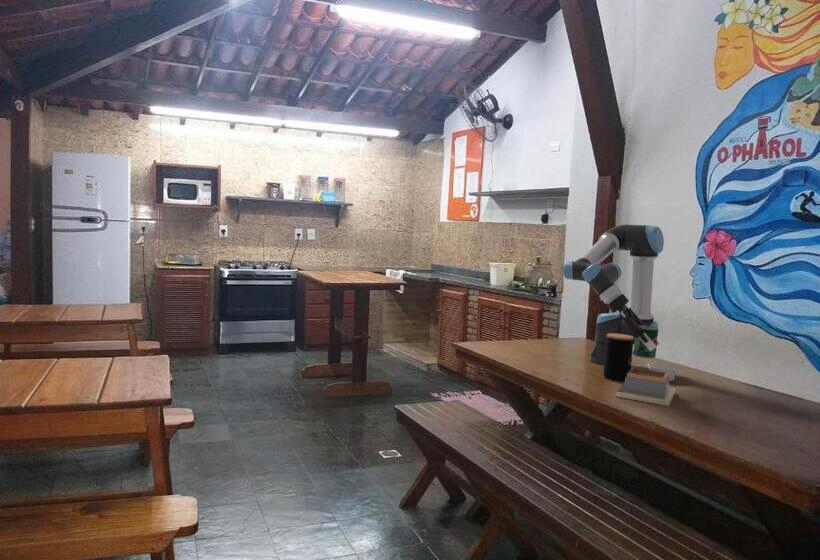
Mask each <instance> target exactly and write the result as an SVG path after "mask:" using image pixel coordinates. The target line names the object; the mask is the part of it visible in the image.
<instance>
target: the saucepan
mask: <svg viewBox="0 0 820 560" xmlns="http://www.w3.org/2000/svg"><path fill="white" fill-rule="evenodd" d="M646 364H647V365H646V366H640V365H639V366H638V365H631V368H632V367H636V368H642V369H649V370H655V371H661V372H668V373H669V377H670V382H672V381H675V376H676V370H677V368H676V367H675V366H672V365H668V364H664V363H663V364H662V363H646Z"/></svg>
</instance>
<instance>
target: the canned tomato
mask: <svg viewBox="0 0 820 560" xmlns="http://www.w3.org/2000/svg"><path fill="white" fill-rule="evenodd" d="M639 327H640V328H641V329H642V331H643V332H644V333H646V335H647V336H648V337H649V338H650V339H651V341H652V342H653V343H654V344H655V345H656V346H658V345H657V341H658V335H659V327H658V328H657V327H653V326H645V325H639ZM656 353H657V347H656V348H654V349H653V350H652V351H650V350H649V349H648V348H647V347H646V346H645V344H644V343H643V342H642V341H641V340H640V338H639V337H637V338H636V337H635V341H634V344H633V352H632V356H634V357H638V358H641V359H642V358H643V359H656V355H657V354H656Z"/></svg>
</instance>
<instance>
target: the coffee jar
mask: <svg viewBox="0 0 820 560" xmlns="http://www.w3.org/2000/svg"><path fill="white" fill-rule="evenodd" d="M607 338H608V339H607V340H606V348H605V359H604V364H603V369H602V371H603V372H602V375H603V377H604V378H605V379H606V378H607V380H609V379H611V380H610V381H614V380H616V381H615V382H625V377H626V376H627V373H628V372H629V371H630V369H631V366H632V359H633V351H634V344H633V342H632V340H633V339H634V337H633V336H629V335H624V334H614V333H610V334H607Z"/></svg>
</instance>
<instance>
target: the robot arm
mask: <svg viewBox="0 0 820 560" xmlns="http://www.w3.org/2000/svg"><path fill="white" fill-rule="evenodd" d="M664 244H665V239H664V233H663V231H662V229H661V228H660V227H659V226H656V225H647V224H646V225H645V224H640V225H639V224H621V225H617V226H614V227H611V228H609V229H608V230H606V231H604V233H602V234H601V235H599V238H598V241H597V242H596V243H594V244H593V245H592V246H591V247H590V248H589V249H587V251H585V252H584V253H583V254H582V255H581V256H580V257H578V259H577V260H575V261H574V260H571V261H570V260H568V261H565V263H564V264H563V268H562V274H563V277H564V278H565V279H566V280H570V281H571V280H572V281H582V282H586V283H587V284H588V285H589V286H590V287H591V289H592V290H593V291H594V292H595V293H596V294H597V295H598V297H599V298H600V299H599V300H600V301H601V302H603V303H604V304H605V305H607V308H608V309H609V310H610V311H611V312H608V313H606V312H605V313H599V314H598V316H597V318H596V323H595V324H596V325H595V327H596V329H595V337H594V345H593V348H592V350H591V352H590V354H589V359H588V360H589V361H590V362H592V363H596V364H599V365H604V359H605V348H606V340H607V339H608V338H607V334H610V333H614V334H624V335H629V336H633V337H634V339H633V340H632V342H633V345H634V341H635V337H636V338H637V337H639V338H640V340H641V341H642V342H643V343H644V344H645V346H646V347H647V348H648V349H649V350H650V351H652V350H653V349H654V348H656V349H657V348H658V347H657V346H659V345H660V341H658V340H657V346H656V345H655V344H654V343H653V342H652V341H651V339H650V338H649V337H648V336H647V335H646V333H644V332H643V331H642V329H641V328H640V327H639V325H645V326H653V327H657V328H659V324H658V322H657V321H656V320H655V316H654V315H653V314H652V313H651V312H652V295H653V280H654V279H653V278H654V264H655V263H654V262H655V259H658V256H659V254H661V253H662V252H663V250H664ZM617 251H625V252H626V251H628V252H629V256H630V258H632V259H633V260H632V275H631V276H632V277H631V289H630V290H631V293H630V300H629V298H627V296H626V295H625V294H624V293H622V292H623V291H622V290H621V289H620V288H619V286H617V285H616V283H615V282H617V281H618V280H619V279H620V278H621V277H622V273H623V272H622V268H621V267H620V266H619V265H618V264H617V263H614V262H609V263H606V264H604V263H603V264H602V262H603V261H605V259H607V257H609V256H610V254H612V253H613V254H614V253H616V252H617ZM629 302H630V307H628V306H627V304H628V303H629ZM617 311H618V312H619V313H618V312H617Z"/></svg>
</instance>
